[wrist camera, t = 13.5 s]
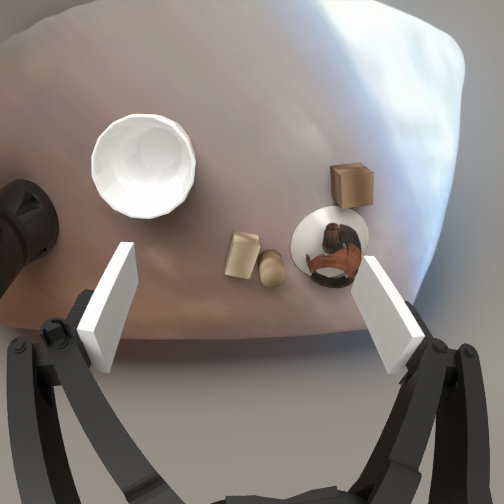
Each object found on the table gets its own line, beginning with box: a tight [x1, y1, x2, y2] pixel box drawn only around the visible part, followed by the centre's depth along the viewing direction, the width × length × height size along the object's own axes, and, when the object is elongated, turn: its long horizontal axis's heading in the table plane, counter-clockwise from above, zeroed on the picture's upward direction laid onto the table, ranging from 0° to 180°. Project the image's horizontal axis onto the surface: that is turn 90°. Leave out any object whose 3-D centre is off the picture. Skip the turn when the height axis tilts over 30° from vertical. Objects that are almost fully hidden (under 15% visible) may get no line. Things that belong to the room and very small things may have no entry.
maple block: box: [225, 230, 260, 279], centre depth 48 cm, size 4×6×4 cm, turn 164°
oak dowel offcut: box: [258, 250, 286, 287], centre depth 49 cm, size 4×4×5 cm
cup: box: [91, 114, 196, 219], centre depth 35 cm, size 12×12×11 cm
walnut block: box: [330, 163, 374, 209], centre depth 42 cm, size 5×5×5 cm
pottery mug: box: [306, 222, 362, 288], centre depth 48 cm, size 12×10×8 cm
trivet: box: [290, 205, 369, 277], centre depth 50 cm, size 14×14×1 cm
